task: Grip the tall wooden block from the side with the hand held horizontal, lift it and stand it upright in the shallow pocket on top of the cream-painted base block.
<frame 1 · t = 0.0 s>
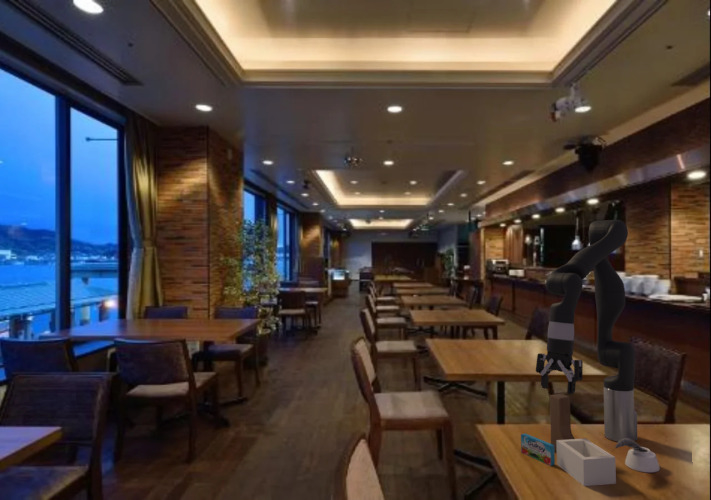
hand: (557, 391, 153), 22 cm above the table, tool pointing down, fingers open, 8 cm apart
inkwell: (634, 470, 149), on the table
base block: (585, 474, 147), on the table
yogurt: (537, 459, 158), on the table
wooden block: (566, 454, 161), on the table
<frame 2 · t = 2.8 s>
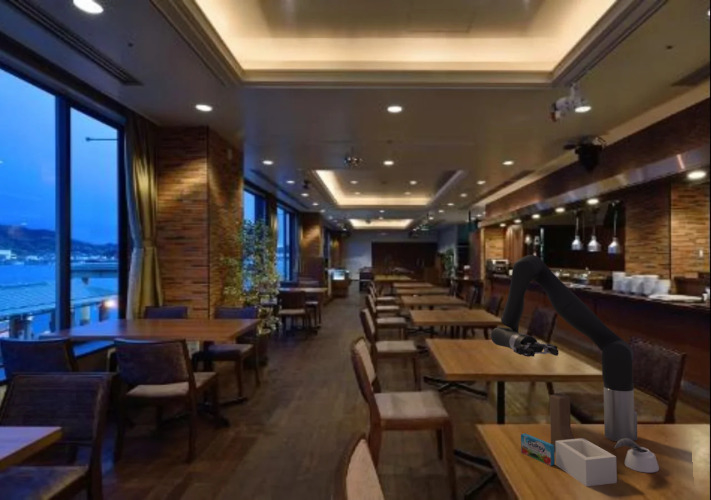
hand: (545, 353, 172), 30 cm above the table, tool horizontal, fingers open, 8 cm apart
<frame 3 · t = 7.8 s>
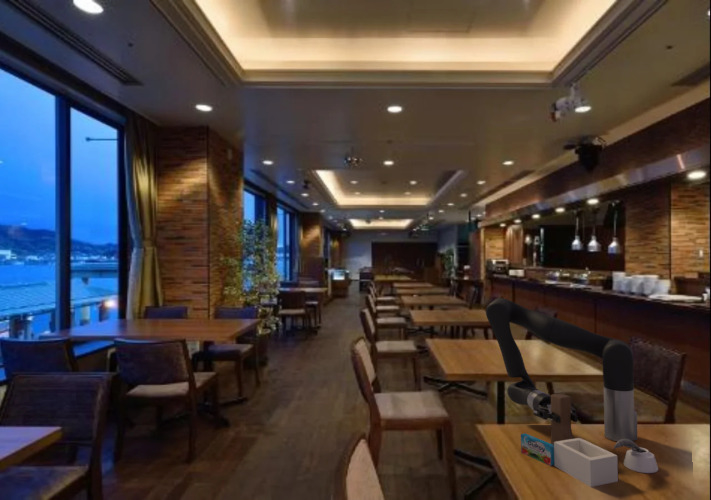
hand: (567, 419, 159), 12 cm above the table, tool horizontal, fingers closed on wooden block, 5 cm apart
wooden block: (566, 454, 161), on the table, touching gripper
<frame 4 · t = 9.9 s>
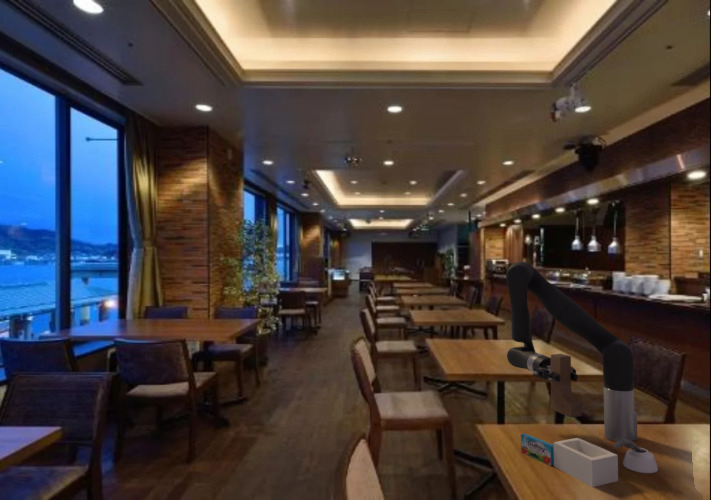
hand: (567, 378, 159), 25 cm above the table, tool horizontal, fingers closed on wooden block, 5 cm apart
wooden block: (566, 413, 161), point 13 cm above the table, touching gripper
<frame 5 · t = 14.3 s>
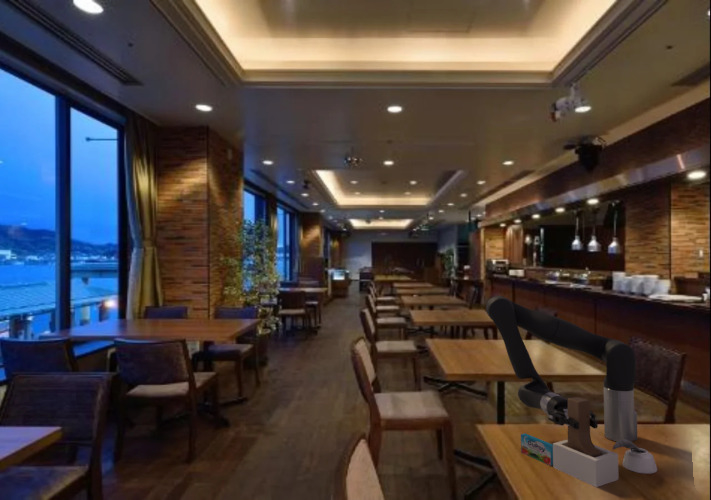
hand: (586, 425, 145), 14 cm above the table, tool horizontal, fingers closed on wooden block, 5 cm apart
wooden block: (584, 463, 147), point 3 cm above the table, touching gripper
when the fingers open (14 cm above the table, at t = 14.7 s): wooden block drops 1 cm, point 2 cm above the table.
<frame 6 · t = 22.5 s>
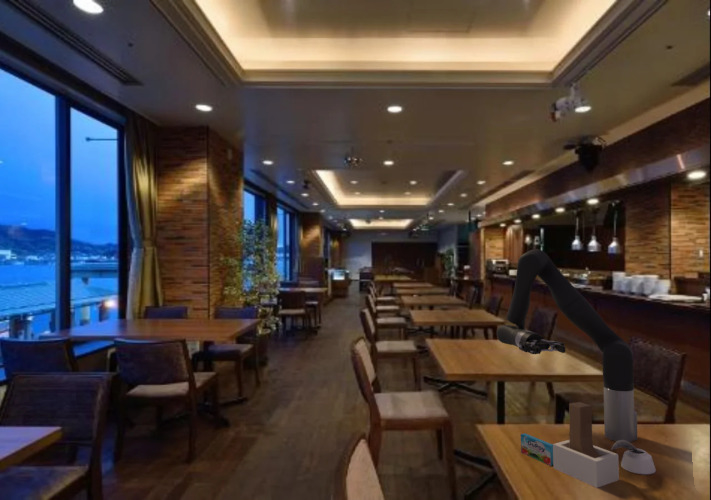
hand: (551, 350, 167), 32 cm above the table, tool horizontal, fingers open, 8 cm apart
wooden block: (586, 469, 146), point 2 cm above the table
at the end: wooden block 0.6 cm off-centre on the base block, point 1.8 cm above the base block's base; wooden block tilted 1°; the gripper is holding nothing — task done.
